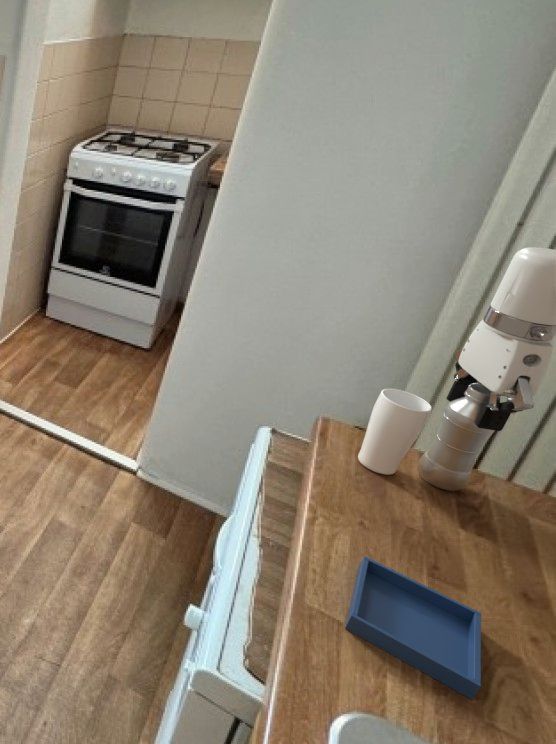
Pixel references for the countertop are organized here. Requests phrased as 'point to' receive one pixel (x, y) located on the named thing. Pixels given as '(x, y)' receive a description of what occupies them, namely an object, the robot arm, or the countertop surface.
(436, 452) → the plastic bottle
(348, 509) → the countertop surface
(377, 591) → the blue tray
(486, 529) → the countertop surface
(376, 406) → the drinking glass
